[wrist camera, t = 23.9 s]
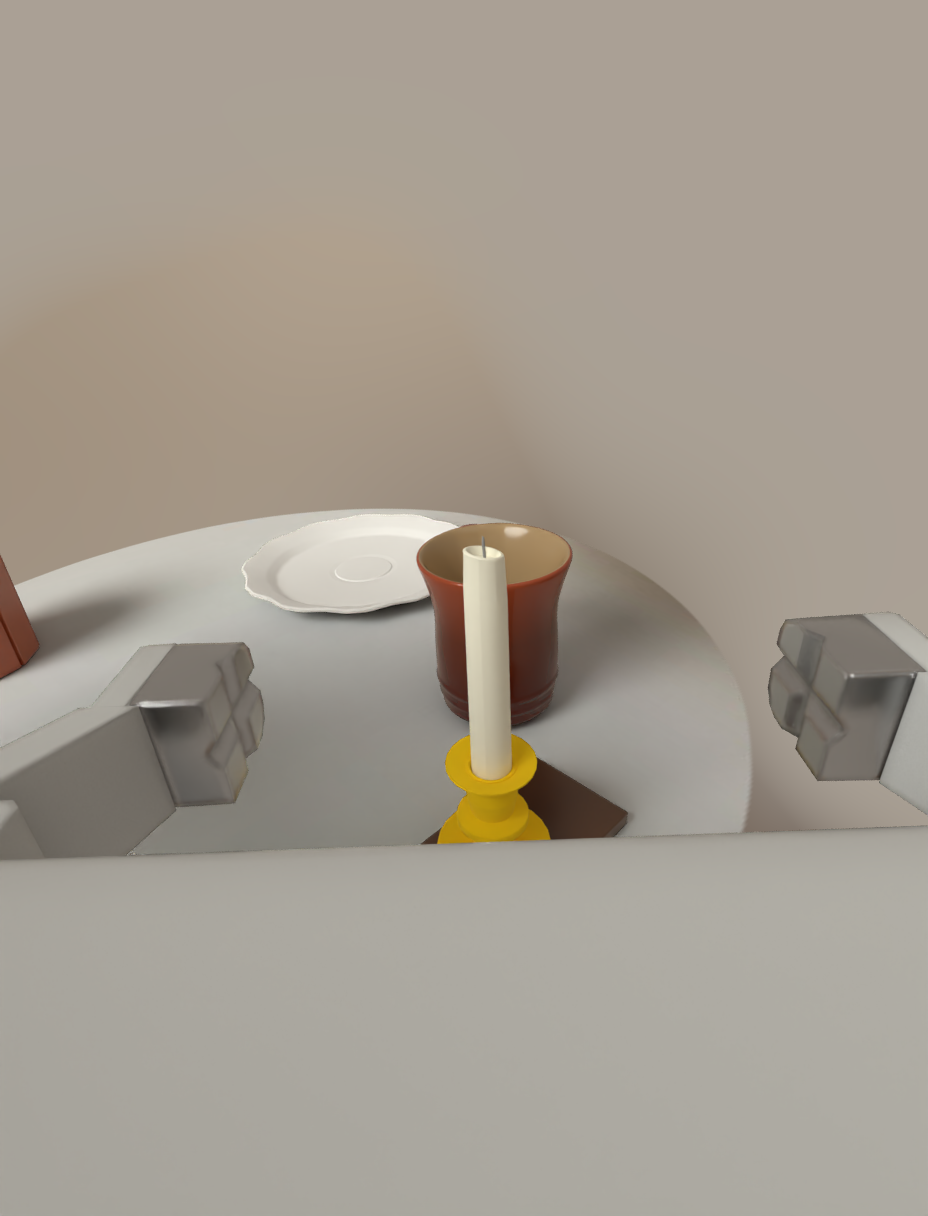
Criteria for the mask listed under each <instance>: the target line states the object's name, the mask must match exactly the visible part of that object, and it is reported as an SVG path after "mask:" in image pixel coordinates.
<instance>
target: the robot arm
mask: <svg viewBox="0 0 928 1216" xmlns="http://www.w3.org/2000/svg"><path fill="white" fill-rule="evenodd" d="M777 645H778V647H779V648H780V650H781V652H782V653H783V655H784V656H783V657H782V658H781V659H780V660H779V661H778V662H777V663H776V664H775V665H774V666H773V667H772V668H771V673H770V678H769V684H768V694H769V704H770V707H771V710H772V712H773V715H774V718H775V719H776V720H777V722H778V724H779V725H780V727H781V728H782V729H784V730H785V731H787V732H789V733H791V734H792V735H794V736H796V737H798V740H797V744H796V750H797V752H798V753H799V755H800V756H801V758H802V759H803V761H804V762H805V763H806V765H807V766H808V768H809V769H810V770H811V772H812V774H813V775H814V776H815V778H816V779H817V781H839V780H840V781H845V780H880V781H879V783H880V784H882V785H883V786H885V787H886V788H888V789H889V790H891V791H892V792H894V793H895V794H897V795H898V796H900V797H901V798H903V799H904V800H906V801H907V802H909V803H910V804H912V805H913V806H915V807H916V808H918V809H919V810H921V811H922V812H924V813H925V814H927V815H928V637H926V636H925V635H924V634H923V633H922V632H921V631H919V630H918V629H917V628H915V627H914V626H913V625H912V624H911V623H909V622H908V621H907V620H906V619H904V618H903V617H902V616H901V615H899V614H896V613H891V612H880V613H868V614H854V615H840V616H825V617H810V618H796V619H787V620H785V622H784V623H783V625H782V627H781V629H780V632H779V636H778V641H777ZM253 668H254V663H253V660H252V656H251V653H250V649H249V648H248V647H247V646H246V645H245V644H244V643H243V642H233V643H193V644H176V643H175V644H160V645H147V646H143V647H140V648H139V649H138V650H137V652H136V653H135V654H134V655H133V656H132V658H131V659H130V660H129V661H128V662H127V664H126V665H125V666H124V667H123V668H122V670H121V671H120V672H119V673H118V674H117V676H116V677H115V678H114V679H113V680H112V682H111V683H110V684H109V685H108V686H107V688H106V689H105V690H104V691H103V692H102V693H101V695H100V696H99V697H98V698H97V699H96V701H95V702H94V703H93V704H92V705H91V707H86V708H78V709H76V710H74V711H72V712H70V713H68V714H66V715H64V716H62V717H60V718H58V719H56V720H54V721H52V722H50V723H48V724H46V725H45V726H43V727H41V728H39V729H37V730H35V731H33V732H31V733H29V734H27V735H25V736H23V737H21V738H19V739H17V740H15V741H13V742H11V743H9V744H7V745H5V746H3V747H1V748H0V1216H928V826H903V827H877V828H851V829H850V828H849V829H825V830H824V829H823V830H797V831H769V832H742V833H716V834H689V835H662V836H636V837H609V838H582V839H556V840H529V841H502V842H476V843H449V844H422V845H395V846H368V847H341V848H314V849H287V850H260V851H233V852H206V853H179V854H151V855H127V854H128V853H129V852H130V851H131V850H132V849H133V848H134V847H136V846H137V845H138V844H139V843H140V842H141V841H142V840H143V839H145V838H146V837H147V836H148V835H149V834H150V833H151V832H152V831H154V830H155V829H156V828H157V827H158V826H159V825H160V824H161V823H163V822H164V821H165V820H166V819H167V818H168V817H169V816H170V815H171V814H173V813H174V812H175V811H176V807H188V806H204V805H219V804H234V803H235V802H236V799H237V797H238V795H239V792H240V790H241V787H242V785H243V783H244V780H245V778H246V776H247V773H248V771H249V770H248V766H247V763H246V759H245V758H247V757H248V756H249V755H251V754H252V753H254V752H255V751H256V750H257V749H258V747H259V744H260V741H261V739H262V736H263V728H264V720H265V716H264V704H263V699H262V695H261V691H260V690H259V689H258V688H257V687H256V686H255V685H254V684H253V683H252V682H250V681H249V680H248V679H249V676H250V674H251V672H252V670H253Z"/></svg>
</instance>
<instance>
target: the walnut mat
mask: <svg viewBox="0 0 928 1216" xmlns="http://www.w3.org/2000/svg"><path fill="white" fill-rule="evenodd" d="M536 758H537V757H536ZM518 794H520V795H521V796H522V797H523V798H524V800H525V801H526V803H527V805H528V809H530V810H531V811H533V812H534V813H535V814H536V815H537V816H538V817H539V818H540V819H541V820H542V821H543V823H544V824H545V826H546V827H547V829H548V832H549V835H550V839H551V840H556V839H582V838H609V837H614V836H615V835H616V834H617V833H618V831H619V830H620V829H621V828H622V827H623V826H624V825H625V824H626V823H627V815H628V813H627V812H626V811H625V810H623V809H621V808H620V807H618V806H616V805H615V804H613V803H611V802H610V801H608V800H607V799H605V798H603V797H602V796H600V795H598V794H597V793H595V792H593V791H592V790H590V789H588V788H587V787H585V786H583V785H582V784H580V783H578V782H577V781H575V780H573V779H572V778H570V777H568V776H567V775H565V774H564V773H562V772H560V771H559V770H557V769H555V768H554V767H552V766H550V765H549V764H547V763H545V762H544V761H542V760H540V759H539V758H537V769H536V772H535V774H534V776H533V778H532V779H531V780H530V781H529V782H528V783H527V784H526V785H525V786H523V787H522V788H520V789H518ZM441 829H442V828H441ZM441 829H439V830H438V831H437V832H435V833H434V834H433V835H432V836H430V837H429V838H428V839H426V840H425V841H424V842H423V843H421V844H420V845H422V844H437V842H438V838H439V834H440V830H441Z"/></svg>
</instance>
